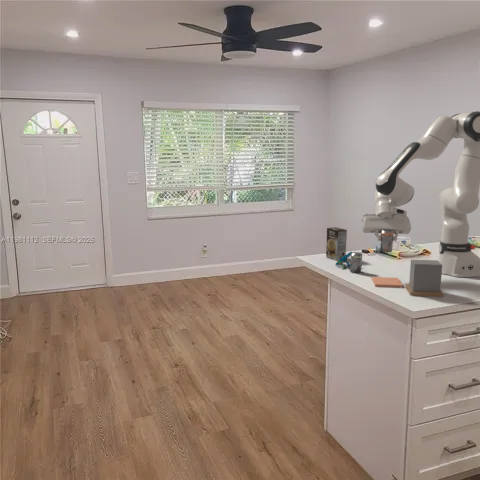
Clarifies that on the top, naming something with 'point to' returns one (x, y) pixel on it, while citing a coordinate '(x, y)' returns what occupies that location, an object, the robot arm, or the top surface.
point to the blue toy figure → (344, 260)
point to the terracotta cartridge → (386, 240)
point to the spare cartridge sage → (356, 262)
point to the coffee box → (336, 243)
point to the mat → (386, 282)
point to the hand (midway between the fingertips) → (387, 240)
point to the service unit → (425, 278)
